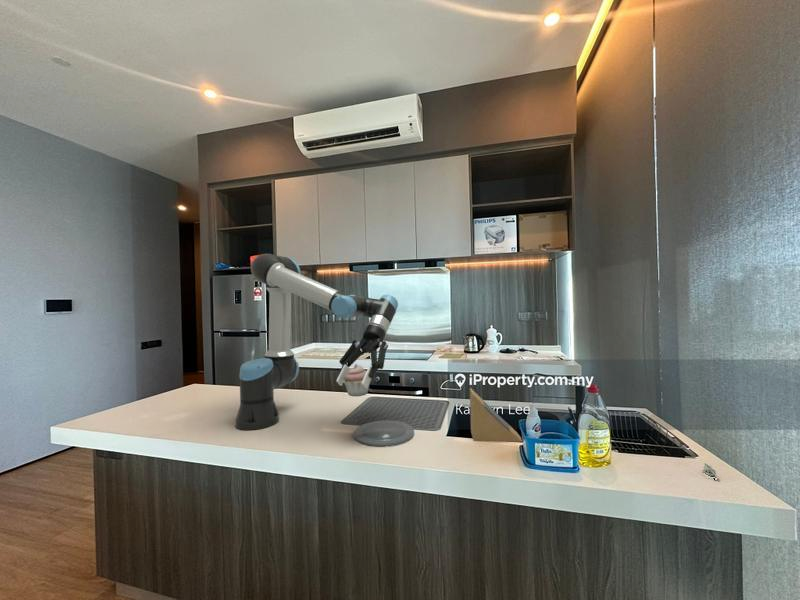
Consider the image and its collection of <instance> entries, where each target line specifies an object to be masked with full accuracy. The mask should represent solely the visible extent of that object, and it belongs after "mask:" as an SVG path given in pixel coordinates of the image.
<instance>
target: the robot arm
mask: <svg viewBox="0 0 800 600" xmlns="http://www.w3.org/2000/svg"><path fill="white" fill-rule="evenodd" d="M250 272H251V275H252V276H253V278H254V279H255V280H256V281H257V282H260V283H262V284H264V285H265V290H267V292H268V293H269V298H268V299H269V304H268V306H269V307H268V310H269V312H268V314H269V316H268V351H266V352H265V354H264V358H263V357H262V358H256V359H251V360H248V361H246V362H244V363H242V364H241V366H240V368H239V375H238V376H239V398H240V399H239V401H240V404H239V408H238V411H237V414H236V417H235V424H234V425H235V428H236V429H239V430H241V431H251V430H252V431H253V430H255V431H256V430H261V429H264V428H268V427H271V426H273V425H276V424H277V423H278V422H279V421H280V419H279V418H280V416H279V415H280V413H279V412H278V409H277V406H276V403H275V400H274V393H275V391H274V390H276V389H278V388H281V387H284V386H285V387H286V386H287V385H289V384H291V383H292V382H293V381H295V379H296V378H297V377H298V375H299V373H300V372H299V371H300V366H299V362H298V361H297V359H296V358H295V352H293V350H292V349H291V338H292V337H291V335H292V334H291V333H292V331H291V327H292V321H291V320H292V294H293V295H295V296H298V297H300V298H302V299H305V300H307V301H309V302H311V303H313V304H315V305H318V306H320V307H322V308H324V309H327V310H329V311H331V312H332V313H333V315H334V316H336V317H338V318H342V319H347V318H351V317H353V318H354V317H365V318H369V321H368V323H367V325H366V327H365V329H364V332H363V334H362V339H361V340H359V341H356V340H353V341H352V343H351V345H350V346H349V348H348V349H347V351H346V352H345V353H344V354H343V356H342V357H341V358H340V360H339V364H340V365H341V367H340V370H339V373H338V376H337V378H336V381H335V382H337V384H338V385H339V386H340V387H341V386H343V384H345V383H344V382H343V380H346V379H345V375H346V374H347V373H348V371H349V370H350V369H351V368H350V367H351V366H352V365H353V364H354V363H355V362H356V361H357V360H358V359H359V358H360V357H361V356H364V355H365V354H370V361H371V363H370V365H368V367H367V370H366V371H367V372H366V374H365V376H364V378H363V381H362V383H361V384H362V385H363V386H364V388H367V387H368V385H369V386H370V384H371V381H372V379H373V378H374V377H375V375H376V372H377V371H378V370H379V369H380V370H383V369H384V366H385V360H386V359H385V358H386V353H387V349H388V348H389V344H388V343H387V342H386V340H385V337H386V335H387V333H388V330H389V328H390V326H391V324H392V321H393V319H394V318H395V315H396V313H397V308H398V306H399V303H398V300H397V298H396V297H394V296H393V295H390V294H383V295H381V296H380V297H379V299H378V298H371V297H366V296H362V295H359V294H358V295H357V294H347V293H344V292H341V291H339V290H338V289H334V288H332V287H331V286H328V285H326V284H324V283H321V282H319V281H316V280H314V279H312V278H310V277H308V276H305V275H303V274H301V269H300V266H299V264H298V263H297V262H296V261H295V260H293V259H291V258H289V257H287V256H281V255H275V254H272V253H262V254H259V255H256V257H254V259H253V260H252V262H251V265H250ZM378 350H379V351H378ZM370 380H371V381H370ZM369 383H370V384H369Z"/></svg>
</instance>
